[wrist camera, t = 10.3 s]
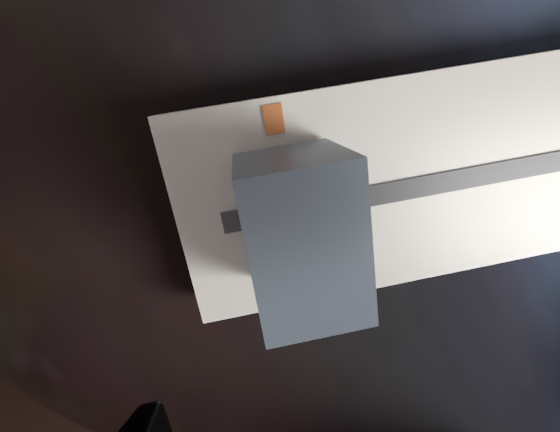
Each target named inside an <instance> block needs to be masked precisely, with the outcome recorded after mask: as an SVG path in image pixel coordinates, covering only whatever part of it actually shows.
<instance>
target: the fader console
mask: <svg viewBox="0 0 560 432" xmlns="http://www.w3.org/2000/svg"><path fill="white" fill-rule="evenodd" d="M147 118H148V121H149V125H150V129H151V133H152V136H153V140H154V144H155V147H156V151H157V155H158V158H159V162H160V166H161V169H162V173H163V177H164V181H165V184H166V188H167V192H168V195H169V199H170V203H171V206H172V210H173V214H174V217H175V221H176V225H177V228H178V232H179V236H180V240H181V243H182V247H183V251H184V254H185V258H186V262H187V265H188V269H189V273H190V276H191V280H192V284H193V288H194V291H195V295H196V299H197V302H198V306H199V310H200V313H201V317H202V321H203V324H204V323H209V322H214V321H219V320H224V319H229V318H234V317H239V316H244V315H248V314H253V313H258V307H257V302H256V297H255V292H254V287H253V283H252V278H251V273H250V268H249V263H248V258H247V253H246V248H245V243H244V238H243V234H242V229H241V224H240V219H239V214H238V209H237V204H236V199H235V194H234V189H233V185H232V154H236V153H242V152H248V151H253V150H259V149H265V148H271V147H277V146H282V145H288V144H294V143H300V142H306V141H311V140H317V139H323V138H326V139H328V140H331V141H333V142H335V143H337V144H340V145H342V146H344V147H346V148H349V149H351V150H353V151H355V152H358V153H360V154H362V155H364V156H366V157H367V161H368V176H369V191H370V206H371V220H372V235H373V250H374V265H375V280H376V288H381V287H386V286H390V285H395V284H400V283H405V282H410V281H415V280H420V279H425V278H430V277H434V276H439V275H444V274H449V273H454V272H459V271H464V270H469V269H474V268H479V267H483V266H488V265H493V264H498V263H503V262H508V261H513V260H518V259H523V258H527V257H532V256H537V255H542V254H547V253H552V252H557V251H560V49H557V50H551V51H544V52H538V53H532V54H526V55H520V56H514V57H508V58H501V59H495V60H489V61H483V62H477V63H471V64H464V65H458V66H452V67H446V68H440V69H434V70H428V71H421V72H415V73H409V74H403V75H397V76H391V77H385V78H378V79H372V80H366V81H360V82H354V83H348V84H341V85H335V86H329V87H323V88H317V89H311V90H305V91H298V92H292V93H286V94H280V95H274V96H268V97H262V98H255V99H249V100H243V101H237V102H231V103H225V104H218V105H212V106H206V107H200V108H194V109H188V110H182V111H175V112H169V113H163V114H158V115H153V116H149V117H147Z"/></svg>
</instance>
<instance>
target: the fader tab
mask: <svg viewBox="0 0 560 432" xmlns="http://www.w3.org/2000/svg"><path fill="white" fill-rule="evenodd" d="M232 185H233V189H234V194H235V199H236V204H237V209H238V214H239V219H240V224H241V229H242V234H243V238H244V243H245V248H246V253H247V258H248V263H249V268H250V273H251V278H252V283H253V287H254V292H255V297H256V302H257V307H258V312H259V317H260V322H261V327H262V331H263V336H264V341H265V346H266V350H268V349H272V348H277V347H282V346H287V345H291V344H296V343H301V342H305V341H310V340H315V339H320V338H324V337H329V336H334V335H338V334H343V333H348V332H353V331H357V330H362V329H367V328H371V327H376V326H379V324H378V309H377V294H376V280H375V265H374V250H373V235H372V220H371V206H370V191H369V176H368V161H367V157H366V156H364V155H362V154H360V153H358V152H355V151H353V150H351V149H349V148H346V147H344V146H342V145H340V144H337V143H335V142H333V141H331V140H328V139H326V138H323V139H317V140H311V141H306V142H300V143H294V144H288V145H282V146H277V147H271V148H265V149H259V150H253V151H248V152H242V153H236V154H232Z"/></svg>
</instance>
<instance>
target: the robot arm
mask: <svg viewBox="0 0 560 432" xmlns="http://www.w3.org/2000/svg"><path fill="white" fill-rule="evenodd" d="M118 432H172V429H171V426H170V423H169V420H168V417H167V414H166V411H165V409H164V406H163V404H162V403H161V402H160V401H154V402H150V403H145V404H142V405H140V406H139V407H138V408H137V409H136V410H135V411H134V413H133V414H132V415H131V416H130V418H129V419H128V420H127V421H126V422H125V424H124V425H123V426H122V427H121V429H120V430H119V431H118Z"/></svg>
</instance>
